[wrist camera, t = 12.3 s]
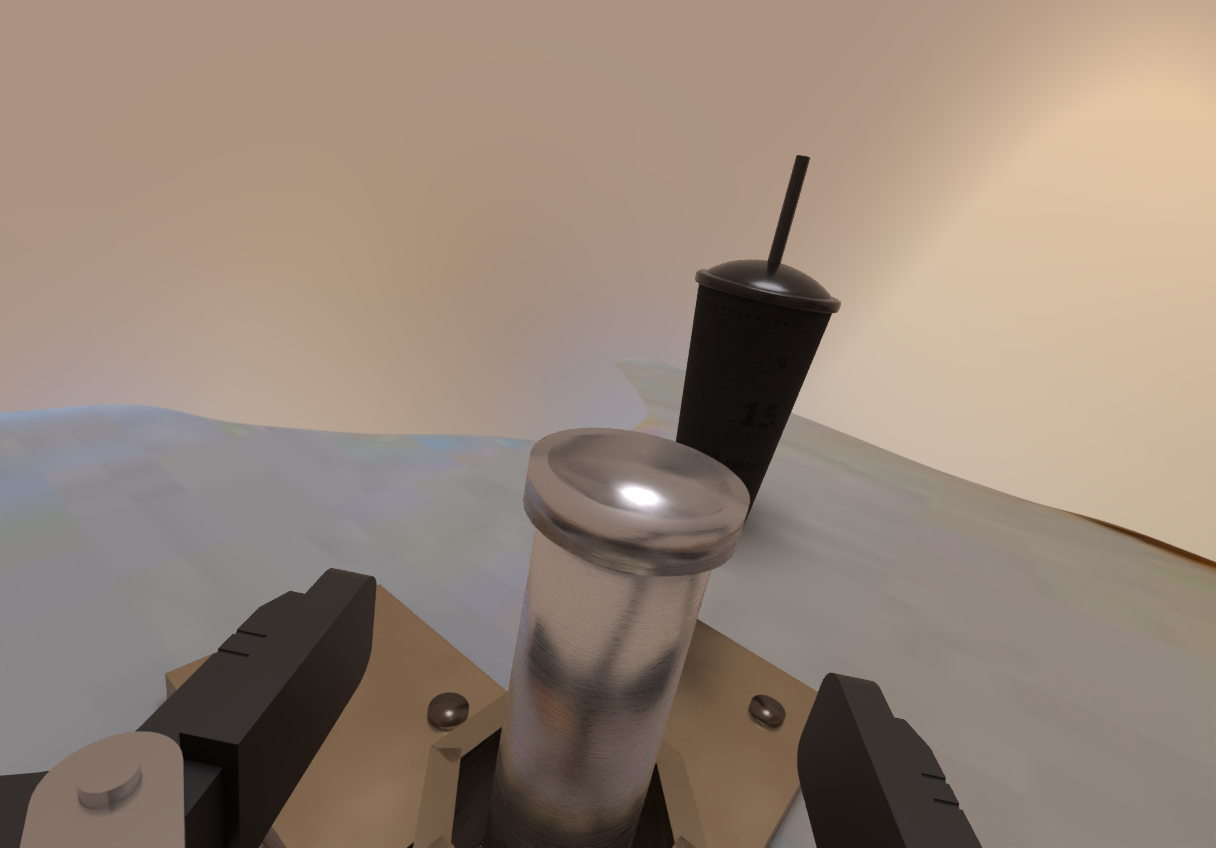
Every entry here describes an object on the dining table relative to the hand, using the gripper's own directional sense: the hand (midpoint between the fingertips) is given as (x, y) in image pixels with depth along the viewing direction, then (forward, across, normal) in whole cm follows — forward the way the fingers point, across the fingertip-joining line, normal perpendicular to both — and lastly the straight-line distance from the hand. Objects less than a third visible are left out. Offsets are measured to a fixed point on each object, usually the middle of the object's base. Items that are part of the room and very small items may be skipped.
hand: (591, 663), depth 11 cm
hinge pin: (+1, 0, +9) cm, 9 cm away
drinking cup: (+25, -6, +9) cm, 27 cm away
